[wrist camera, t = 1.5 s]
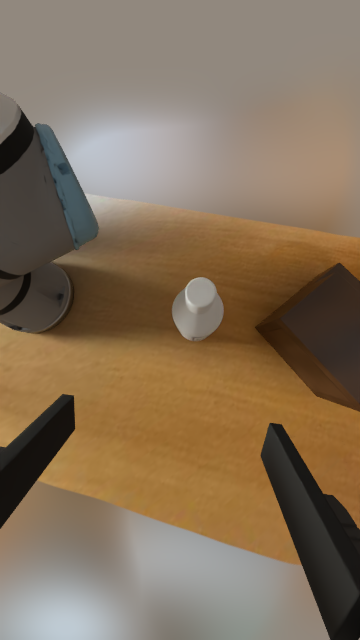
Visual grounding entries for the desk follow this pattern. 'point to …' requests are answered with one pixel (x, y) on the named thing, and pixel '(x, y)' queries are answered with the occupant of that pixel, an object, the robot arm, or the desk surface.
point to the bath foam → (197, 309)
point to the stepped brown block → (322, 335)
